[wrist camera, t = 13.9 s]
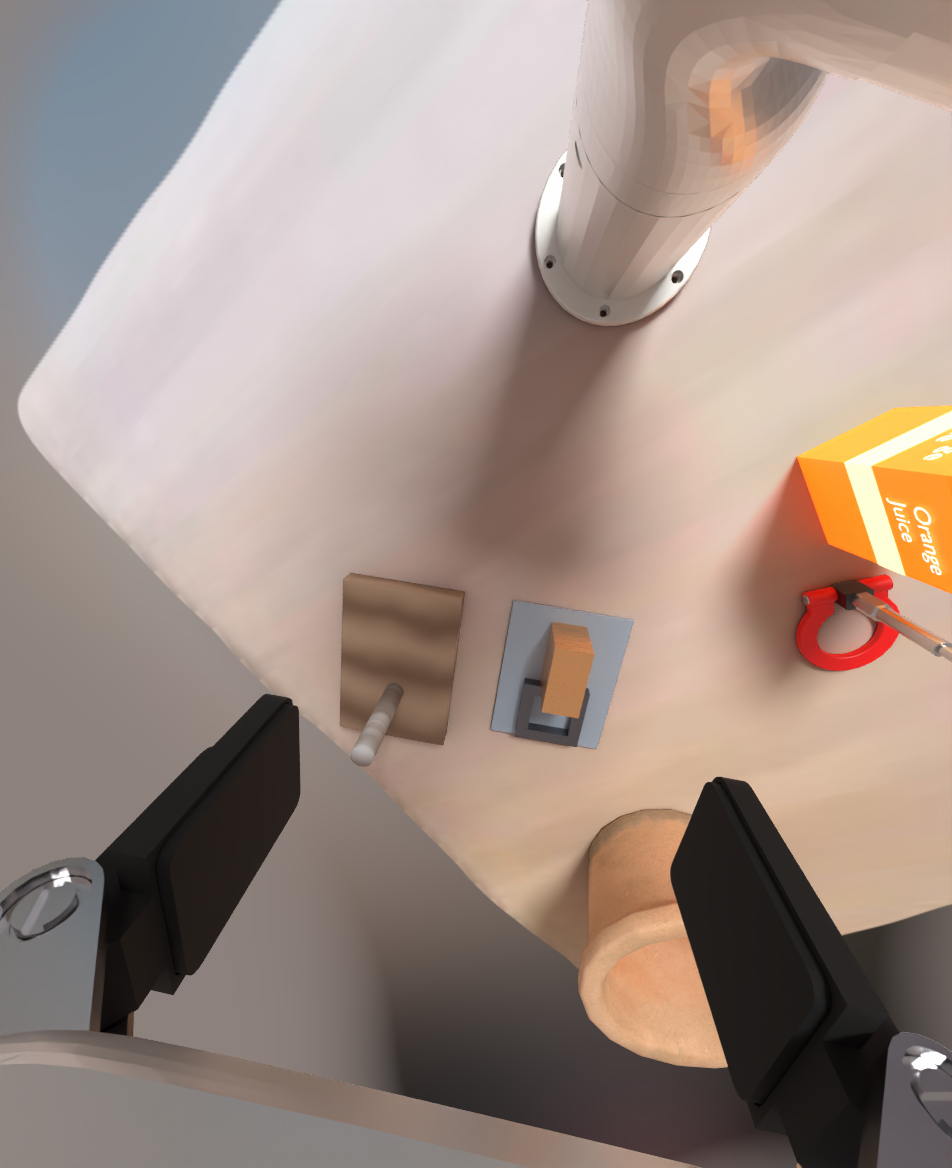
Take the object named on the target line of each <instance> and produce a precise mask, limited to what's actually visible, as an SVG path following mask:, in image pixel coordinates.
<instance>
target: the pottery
mask: <svg viewBox="0 0 952 1168" xmlns="http://www.w3.org/2000/svg"><path fill="white" fill-rule="evenodd" d="M691 816H692V815H691V814H687V813H683V812H679V811H675V810H671V809H656V810H642V811H638V812H635V813H631V814H628V815H624V816H621V817H620V818H618V819H616V820H615V821H613V822H612V823H610V824H609V825H607V826H606V827H604V828H603V829H602V830H601V831H600V833H599V834H598V835H597V837H596V838H595V839H594V841H593V842H592V844H591V849H590V854H589V860H588V861H589V922H588V946H587V947H586V948H585V950H584V951H583V953H582V958H581V964H580V969H579V975H578V986H579V993H580V996H581V999H582V1001H583V1004H584V1006H585V1009H586V1012H587V1015H588V1017H589V1019H590V1020H591V1021H592V1022H593V1023H594V1024H595V1025H596V1026H597V1027H598V1028H599V1029H600V1030H601V1031H602V1032H603V1033H604V1034H605V1035H606V1036H607V1037H608V1038H609V1039H610V1040H612V1041H614V1042H616V1043H618V1044H620V1045H621V1046H623V1047H625V1048H627V1049H629V1050H631V1051H633V1052H635V1053H637V1054H638V1055H640V1056H644V1057H648V1058H652V1059H655V1060H659V1061H663V1062H666V1063H670V1064H674V1065H680V1066H693V1067H707V1068H722V1067H728V1065H727V1062H726V1059H725V1056H724V1052H723V1049H722V1046H721V1043H720V1039H719V1036H718V1033H717V1030H716V1026H715V1023H714V1020H713V1017H712V1014H711V1010H710V1007H709V1004H708V1001H707V997H706V994H705V991H704V988H703V984H702V981H701V978H700V975H699V972H698V968H697V965H696V962H695V959H694V955H693V952H692V949H691V946H690V942H689V939H688V936H687V933H686V929H685V926H684V923H683V920H682V917H681V913H680V910H679V907H678V904H677V900H676V897H675V894H674V891H673V887H672V884H671V878H670V869H671V864H672V862H673V859H674V857H675V855H676V852H677V850H678V847H679V845H680V843H681V840H682V838H683V835H684V833H685V831H686V828H687V826H688V823H689V821H690V819H691Z"/></svg>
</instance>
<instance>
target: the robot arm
mask: <svg viewBox="0 0 952 1168" xmlns="http://www.w3.org/2000/svg"><path fill="white" fill-rule="evenodd" d="M829 73H830V74H833V75H836V76H839V77H842V78H845V79H848V80H856V79H860V80H863V81H866V82H869V83H871V84H874V85H877V86H880V87H883V88H886V89H888V90H891V91H894V92H897V93H900V94H903V95H906V96H908V97H911V98H914V99H917V100H920V101H923V102H926V103H928V104H931V105H934V106H937V107H940V108H943V109H946V110H948V111H951V112H952V0H587V8H586V17H585V25H584V33H583V41H582V48H581V55H580V62H579V69H578V76H577V83H576V90H575V97H574V104H573V111H572V118H571V125H570V132H569V139H568V146H567V149H566V151H565V152H564V153H563V154H562V156H561V157H560V158H559V159H558V161H557V163H556V165H555V166H554V168H553V170H552V171H551V173H550V175H549V177H548V179H547V182H546V184H545V187H544V189H543V192H542V194H541V198H540V202H539V207H538V211H537V216H536V227H535V249H536V255H537V261H538V266H539V269H540V272H541V275H542V278H543V280H544V283H545V285H546V286H547V288H548V290H549V291H550V293H551V295H552V297H553V298H554V299H555V300H556V301H557V302H558V303H559V304H560V306H561V307H562V308H563V309H565V310H566V311H567V312H569V313H570V314H571V315H573V316H574V317H576V318H578V319H580V320H583V321H585V322H587V323H590V324H596V325H601V326H619V325H624V324H628V323H632V322H636V321H638V320H640V319H642V318H644V317H646V316H649V315H651V314H652V313H654V312H655V311H656V310H658V309H659V308H661V307H662V306H664V305H665V304H666V303H667V302H668V301H669V300H670V299H672V298H673V297H674V296H675V295H676V294H677V293H678V292H679V291H680V290H681V289H682V287H683V286H684V285H685V284H686V283H687V281H688V280H689V278H690V277H691V275H692V274H693V272H694V270H695V269H696V267H697V266H698V264H699V262H700V259H701V257H702V255H703V253H704V250H705V248H706V246H707V242H708V239H709V235H710V231H711V227H712V225H713V224H714V223H715V222H716V221H717V220H718V219H719V217H720V216H721V215H722V214H723V213H724V212H725V211H726V210H727V209H728V208H729V207H730V206H731V205H732V203H733V202H734V201H735V200H736V199H737V198H738V197H739V196H740V195H741V194H742V193H743V192H744V191H745V190H746V188H747V187H748V186H749V185H750V184H751V183H752V182H753V181H754V180H755V179H756V178H757V176H758V175H759V174H760V173H761V172H762V171H763V170H764V169H765V167H766V166H767V165H768V164H769V163H770V162H771V161H772V160H773V159H774V158H775V156H776V155H777V154H778V153H779V152H780V151H781V150H782V148H783V147H784V146H785V145H786V143H787V142H788V141H789V140H790V138H791V137H792V136H793V134H794V133H795V132H796V130H797V129H798V127H799V126H800V125H801V123H802V122H803V120H804V119H805V117H806V116H807V114H808V112H809V110H810V109H811V107H812V105H813V104H814V102H815V100H816V98H817V96H818V94H819V92H820V90H821V89H822V87H823V85H824V83H825V81H826V78H827V76H828V74H829ZM562 173H564V175H563V178H562V177H561V174H562ZM548 262H551V263H552V264H553V267H552V268H550V269H549V268H547V266H546V265H547V263H548ZM672 277H676V279H677V282H676V283H675V284H674V283H673V282H672V280H671V279H672ZM601 311H605V312H606V316H605V317H601V316H600V312H601ZM299 797H300V752H299V710H298V707H297V706H294V705H293V703H292V700H291V699H290V698H287V697H281V696H276V695H270V694H265V695H263V696H262V697H261V698H260V699H259V700H258V701H257V702H256V703H255V704H254V705H253V706H252V707H251V708H250V709H249V710H248V711H247V712H246V713H245V714H244V715H243V716H242V717H241V718H240V719H239V720H238V721H237V722H236V723H235V724H234V725H233V726H232V727H231V728H230V729H229V730H228V731H227V732H226V734H225V735H224V736H223V737H222V738H221V739H220V740H219V741H218V742H217V743H216V744H215V745H214V746H212V747H209V748H207V749H206V750H205V751H203V752H202V753H201V754H200V755H199V756H198V757H197V758H196V759H195V760H194V761H193V762H192V763H191V764H190V765H189V766H188V767H187V768H186V769H185V770H184V771H183V772H182V773H181V774H180V775H179V776H178V777H177V778H176V779H175V780H174V781H173V782H172V783H171V784H170V785H169V786H168V787H167V788H166V789H165V790H164V791H163V792H162V793H161V794H160V795H159V796H158V797H157V798H156V799H155V800H154V801H153V802H152V804H150V805H149V806H148V807H147V809H146V810H145V811H144V812H143V813H142V814H141V815H140V816H139V817H138V818H137V819H136V820H135V821H134V822H133V823H132V824H131V825H130V826H129V827H128V828H127V829H126V830H125V831H124V832H123V833H122V834H121V835H120V836H119V837H118V838H117V839H116V840H115V841H114V842H113V843H112V844H111V845H110V846H109V847H108V848H107V849H106V850H105V851H104V852H103V853H102V854H101V855H100V856H99V857H98V858H97V859H96V860H95V861H94V860H91V859H88V858H85V857H75V858H66V859H62V860H57V861H53V862H50V863H48V864H45V865H43V866H41V867H38V868H36V869H34V870H32V871H30V872H28V873H27V874H25V875H23V876H22V877H20V878H18V879H17V880H15V881H13V882H12V883H11V884H10V885H9V886H7V887H6V888H5V889H4V890H2V891H1V892H0V1168H702V1167H698V1166H694V1165H690V1164H685V1163H681V1162H677V1161H673V1160H669V1159H665V1158H660V1157H656V1156H652V1155H648V1154H644V1153H640V1152H636V1151H632V1150H627V1149H624V1148H620V1147H615V1146H611V1145H607V1144H603V1143H599V1142H594V1141H590V1140H587V1139H582V1138H578V1137H573V1136H570V1135H566V1134H562V1133H557V1132H553V1131H549V1130H545V1129H541V1128H536V1127H532V1126H528V1125H524V1124H519V1123H515V1122H511V1121H507V1120H503V1119H498V1118H494V1117H489V1116H486V1115H481V1114H477V1113H473V1112H469V1111H464V1110H460V1109H456V1108H451V1107H447V1106H443V1105H438V1104H435V1103H430V1102H426V1101H422V1100H418V1099H413V1098H409V1097H405V1096H401V1095H396V1094H392V1093H388V1092H384V1091H379V1090H375V1089H371V1088H366V1087H362V1086H358V1085H353V1084H349V1083H345V1082H340V1081H335V1080H331V1079H327V1078H323V1077H318V1076H314V1075H310V1074H305V1073H301V1072H296V1071H292V1070H288V1069H283V1068H279V1067H275V1066H270V1065H266V1064H262V1063H257V1062H253V1061H248V1060H244V1059H240V1058H235V1057H231V1056H226V1055H222V1054H216V1053H211V1052H207V1051H202V1050H197V1049H192V1048H187V1047H182V1046H177V1045H173V1044H167V1043H163V1042H158V1041H153V1040H148V1039H143V1038H138V1037H133V1028H134V1027H133V1026H134V1011H135V1010H137V1009H138V1008H139V1007H140V1005H141V1004H142V1002H143V1001H144V999H145V998H146V996H147V995H148V993H149V992H150V990H154V991H158V992H162V993H167V994H171V995H174V993H175V991H176V990H177V988H178V987H179V985H180V983H181V982H182V980H183V979H184V977H185V975H193V974H194V973H195V972H196V970H198V969H199V967H200V966H201V964H202V963H203V961H204V959H205V958H206V956H207V954H208V953H209V951H210V949H211V948H212V946H213V944H214V943H215V941H216V939H217V938H218V936H219V934H220V933H221V931H222V929H223V928H224V926H225V925H226V923H227V921H228V920H229V918H230V916H231V914H232V913H233V911H234V910H235V908H236V906H237V905H238V903H239V901H240V900H241V898H242V896H243V894H244V893H245V891H246V890H247V888H248V886H249V885H250V883H251V881H252V880H253V878H254V876H255V875H256V873H257V871H258V870H259V868H260V867H261V865H262V863H263V862H264V860H265V858H266V857H267V855H268V853H269V852H270V850H271V848H272V847H273V845H274V843H275V842H276V840H277V838H278V836H279V835H280V833H281V832H282V830H283V828H284V827H285V825H286V823H287V822H288V820H289V818H290V817H291V815H292V813H293V812H294V810H295V808H296V806H297V804H298V801H299ZM670 878H671V884H672V887H673V891H674V894H675V897H676V900H677V904H678V907H679V910H680V913H681V917H682V920H683V923H684V926H685V929H686V933H687V936H688V939H689V942H690V946H691V949H692V952H693V955H694V959H695V962H696V965H697V968H698V972H699V975H700V978H701V981H702V984H703V988H704V991H705V994H706V997H707V1001H708V1004H709V1007H710V1010H711V1014H712V1017H713V1020H714V1023H715V1026H716V1030H717V1033H718V1036H719V1039H720V1043H721V1046H722V1049H723V1052H724V1056H725V1059H726V1062H727V1065H728V1068H729V1072H730V1075H731V1078H732V1081H733V1084H734V1087H735V1089H736V1091H737V1093H738V1095H739V1096H740V1098H741V1099H742V1100H745V1101H747V1103H748V1107H749V1110H750V1113H751V1116H752V1119H753V1122H754V1125H755V1128H756V1129H760V1130H765V1131H769V1132H774V1133H778V1134H782V1135H787V1136H788V1138H789V1141H790V1144H791V1146H792V1149H793V1152H794V1155H795V1157H796V1160H797V1162H798V1164H797V1168H952V1052H950V1051H949V1050H948V1049H946V1048H945V1047H943V1046H942V1045H940V1044H938V1043H937V1042H935V1041H933V1040H931V1039H928V1038H926V1037H923V1036H921V1035H919V1034H915V1033H905V1032H902V1033H899V1031H898V1030H897V1028H896V1026H895V1025H894V1023H893V1021H892V1020H891V1018H890V1017H889V1013H888V1011H887V1009H886V1008H885V1006H884V1004H883V1003H882V1001H881V1000H880V998H879V996H878V995H877V993H876V991H875V990H874V988H873V987H872V985H871V983H870V982H869V980H868V978H867V977H866V975H865V973H864V972H863V970H862V968H861V967H860V965H859V963H858V962H857V960H856V959H855V957H854V955H853V954H852V952H851V950H850V949H849V947H848V945H847V944H846V942H845V940H844V939H843V937H842V936H841V934H840V932H839V931H838V929H837V927H836V926H835V924H834V922H833V921H832V919H831V918H830V916H829V914H828V913H827V911H826V909H825V908H824V906H823V904H822V903H821V901H820V899H819V898H818V896H817V895H816V893H815V891H814V890H813V888H812V886H811V885H810V883H809V881H808V880H807V878H806V876H805V875H804V873H803V872H802V870H801V868H800V867H799V865H798V863H797V862H796V860H795V858H794V857H793V855H792V854H791V852H790V850H789V849H788V847H787V845H786V844H785V842H784V840H783V839H782V837H781V835H780V834H779V832H778V831H777V829H776V827H775V826H774V824H773V822H772V821H771V819H770V817H769V816H768V814H767V813H766V811H765V809H764V808H763V806H762V804H761V803H760V801H759V799H758V798H757V796H756V794H755V793H754V791H753V790H752V788H751V787H750V785H749V784H748V783H746V782H745V781H740V780H734V779H729V778H723V777H716V778H715V779H714V780H713V781H712V782H707V783H706V784H705V785H704V787H703V790H702V792H701V795H700V797H699V799H698V802H697V804H696V807H695V809H694V811H693V814H692V816H691V819H690V821H689V823H688V826H687V828H686V831H685V833H684V835H683V838H682V840H681V843H680V845H679V847H678V850H677V852H676V855H675V857H674V859H673V862H672V864H671V869H670Z"/></svg>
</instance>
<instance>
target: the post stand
mask: <svg viewBox="0 0 952 1168" xmlns="http://www.w3.org/2000/svg"><path fill="white" fill-rule="evenodd" d="M464 596H465V592H463V591H457V590H451V589H445V588H439V587H433V586H427V585H421V584H415V583H408V582H402V581H396V580H390V579H384V578H378V577H372V576H366V575H360V574H354V573H350V574H349V575H348V576H347V577H346V578H344V579H343V614H342V657H341V700H340V726H342V727H347V728H353V729H358V730H363V731H362V733H361V735H360V737H359V739H358V741H357V743H356V744H355V746H354V748H353V750H352V752H351V755H350V756H351V759H352V761H353V762H354V763H355V764H357V765H359V766H363V767H364V766H369V765H370V764H371V763H372V761H373V759H374V757H375V755H376V753H377V750H378V748H379V746H380V744H381V742H382V740H383V737H384V735H390V736H395V737H401V738H406V739H412V740H417V741H422V742H428V743H433V744H438V745H443V744H444V740H445V737H446V732H447V724H448V717H449V709H450V702H451V694H452V687H453V679H454V671H455V664H456V656H457V649H458V641H459V634H460V626H461V618H462V611H463V603H464Z"/></svg>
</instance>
